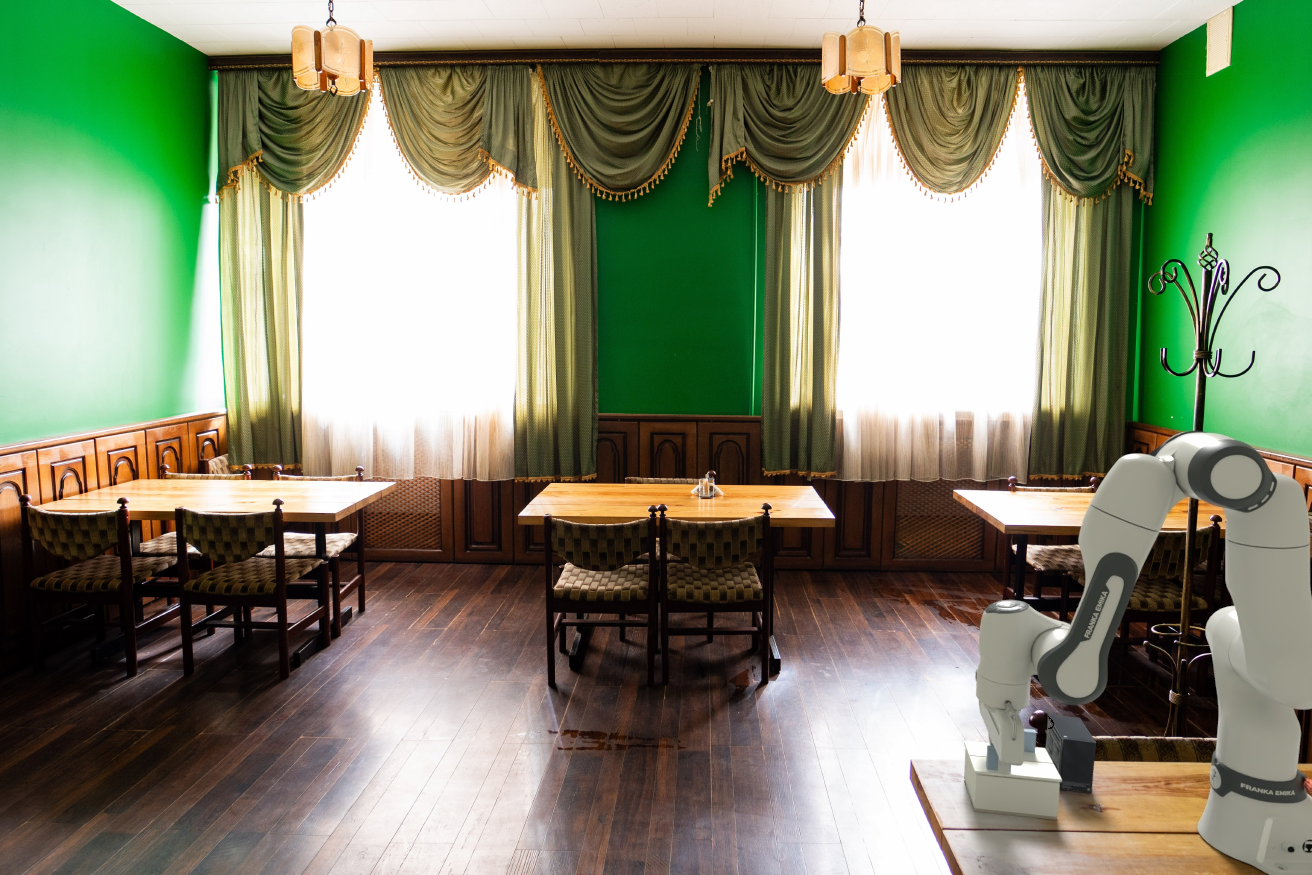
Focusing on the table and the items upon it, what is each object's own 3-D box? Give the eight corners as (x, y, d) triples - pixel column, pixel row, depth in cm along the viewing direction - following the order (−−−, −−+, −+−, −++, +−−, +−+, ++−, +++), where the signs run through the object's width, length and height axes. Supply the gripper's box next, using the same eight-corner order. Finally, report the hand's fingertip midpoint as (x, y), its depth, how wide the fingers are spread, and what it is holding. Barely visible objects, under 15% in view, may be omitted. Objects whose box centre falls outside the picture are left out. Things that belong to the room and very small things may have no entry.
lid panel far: (1044, 750, 155) (1046, 728, 155) (1052, 765, 150) (1054, 742, 149) (964, 742, 158) (965, 721, 157) (969, 757, 153) (970, 734, 152)
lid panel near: (1053, 766, 149) (1054, 743, 149) (1061, 782, 144) (1063, 758, 144) (969, 758, 152) (970, 735, 152) (974, 773, 147) (975, 749, 146)
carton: (1041, 786, 156) (1043, 752, 155) (1057, 819, 145) (1059, 783, 144) (964, 778, 159) (965, 744, 158) (974, 810, 148) (976, 774, 147)
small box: (1094, 794, 153) (1098, 741, 152) (1057, 790, 155) (1060, 738, 153) (1077, 765, 164) (1081, 716, 162) (1042, 762, 165) (1046, 713, 164)
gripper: (1036, 718, 135) (1031, 796, 137) (1008, 668, 155) (1004, 737, 157) (996, 714, 136) (991, 792, 138) (973, 666, 156) (970, 734, 158)
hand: (998, 762), depth 148 cm, fingers open, 5 cm apart
